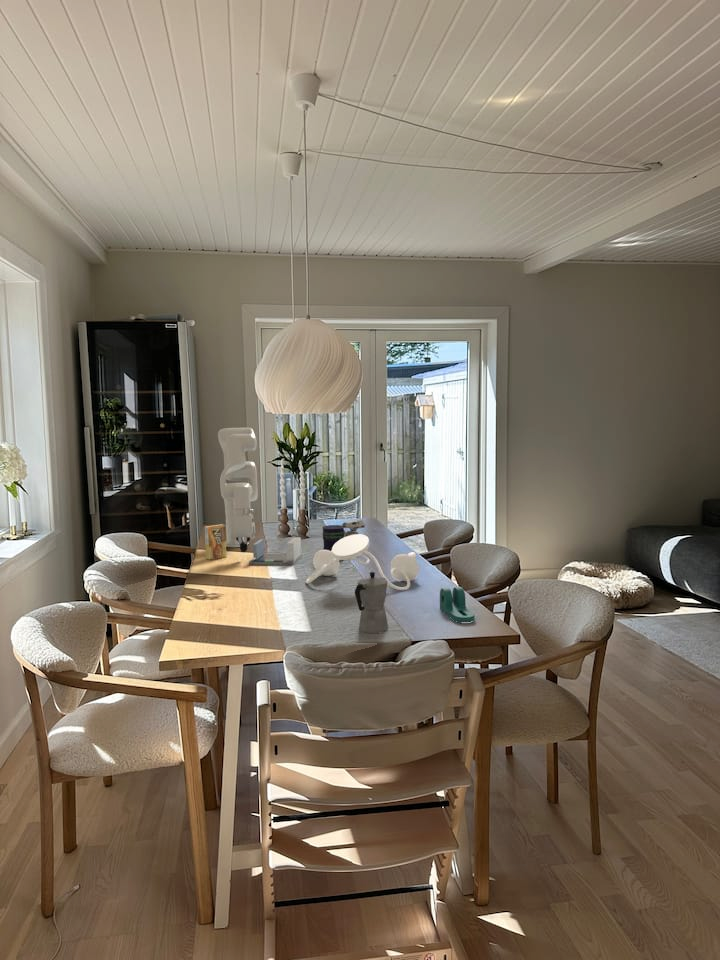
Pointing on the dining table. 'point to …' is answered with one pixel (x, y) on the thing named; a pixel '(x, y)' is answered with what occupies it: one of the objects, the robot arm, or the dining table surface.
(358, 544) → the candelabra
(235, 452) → the robot arm
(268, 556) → the gauge housing
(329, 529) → the storage jar
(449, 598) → the bracket
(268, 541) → the dining table surface
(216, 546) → the candy box
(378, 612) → the coffeepot
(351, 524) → the figurine
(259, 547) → the pressure plate
